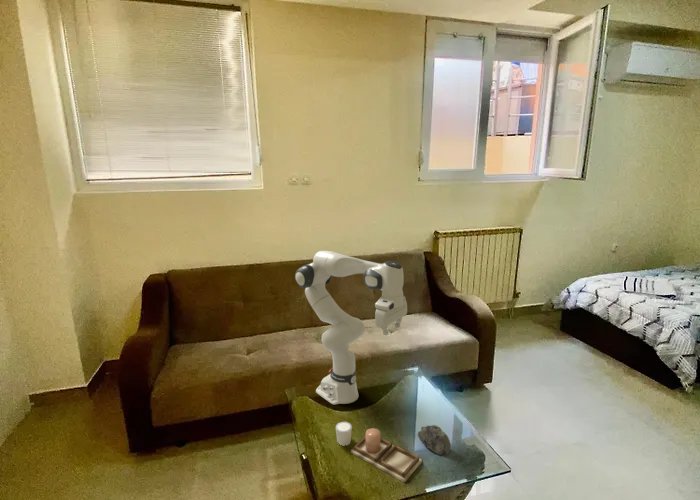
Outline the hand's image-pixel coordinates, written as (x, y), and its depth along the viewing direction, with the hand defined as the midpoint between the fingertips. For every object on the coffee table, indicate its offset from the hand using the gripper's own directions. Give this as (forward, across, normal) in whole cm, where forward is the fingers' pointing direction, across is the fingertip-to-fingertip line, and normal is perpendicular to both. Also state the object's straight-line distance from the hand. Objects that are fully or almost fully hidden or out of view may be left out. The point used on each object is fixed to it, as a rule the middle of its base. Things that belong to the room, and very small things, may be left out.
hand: (391, 330), depth 168 cm
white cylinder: (+44, +23, -8) cm, 51 cm away
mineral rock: (+44, +2, +23) cm, 50 cm away
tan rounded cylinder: (+43, +20, +4) cm, 48 cm away
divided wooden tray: (+44, +20, +11) cm, 49 cm away
